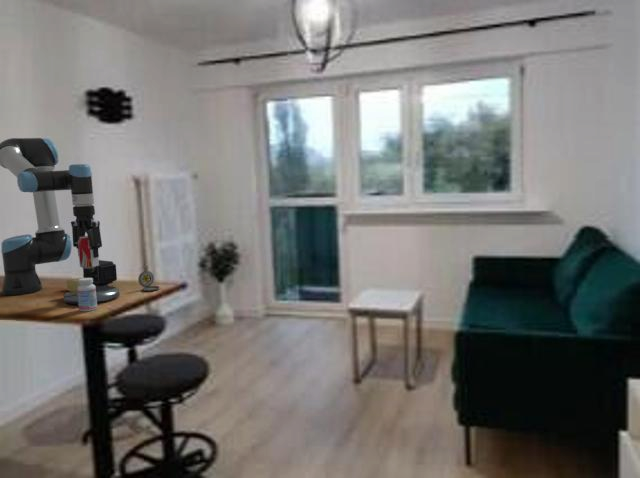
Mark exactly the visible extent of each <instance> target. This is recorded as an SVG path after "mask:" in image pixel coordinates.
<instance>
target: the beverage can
mask: <svg viewBox="0 0 640 478" xmlns="http://www.w3.org/2000/svg"><path fill="white" fill-rule="evenodd" d="M78 248H79V256H78V258H79V257H80V263H79V267H80V268H81V269H83V268H84V269H89V268H95V267H96V266H94V267H92V264H91V254H90V250H91V249H90V248H91V245H90V242H89V238H88V235H85V236H83V237H79V240H78Z"/></svg>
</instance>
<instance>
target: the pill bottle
mask: <svg viewBox="0 0 640 478" xmlns="http://www.w3.org/2000/svg"><path fill="white" fill-rule="evenodd" d="M78 280H79V284H80V286H78V288H77V292H78V303H79V304H78V310H79V312H83V313H85V312H92V311H95V310H98V302H97V298H96V287H95V285H93V284H92V283H93V278H84V277H82V278H79V279H78Z"/></svg>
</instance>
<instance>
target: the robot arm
mask: <svg viewBox="0 0 640 478" xmlns="http://www.w3.org/2000/svg"><path fill="white" fill-rule="evenodd" d="M58 162H59V154H58V149H57V147H56V144H55V143H54V142H53V140H52V139H49V138H42V137H27V138H26V137H25V138H23V137H21V138H18V137H17V138H16V137H13V138H7V139H5V140H3V141H1V142H0V166H1V167H2V168H4V169H7V170H8V171H10V173H12V174H13V176H15V177H16V180H17V186H18V189H19V191H21V192H23V193H32V196H33V201H34V210H35V215H36V221H37V228H38V229H37V230H36V231H35V232H34V235H35V237H34V236H33V235H32V234H22V235H15V236H11V237H9V238H6V239H3V240H2V242H1V243H0V244H1V250H0V251H1V255H2V265H3V272H4V273H3V274H4V277H3V280H2V283H1V284H2V285H1V294H2V295H4V296H18V295H19V296H20V295H25V294H32V293H36V292H40V291H41V290H42V289H43V284H42V281H41V280H40V278H39V277H40V276H39V275H38V273H37V271H36V265H43V264H49V263H58V262H62V261H65V260H67V259H69V258H70V256H71V253H72V246H73V248H76V249H77V253H78V254H77V255H78V260H79V261H78V263H79V264H80V257H79V248H78V240H79V237H83V236H88V238H89V242H90V245H91V248H90V249H91V250H90V254H91V264H92V267H94V266H99V260H100V259H99V257H100V255H99V249H100V248H102V247H103V243H102V236H101V227H100V225H101V223H100V221H99V220H97V221H96V220H95V218H94V216H95V214H96V209H95V206H94V205H93V204H95V199H94V189H93V180H92V171H91V166H90V164H86V163H84V164H82V163H79V164H69V166H68V170H67V169H66V170H64V169H63V170H55V169H56V168H55V166H56V165H57V164H59V163H58ZM69 190H70V192H71V193H70V194H71V201H72V205H73V207H72V211H73V212H72V213H73V216H74V217H76V218H75V220H74V221H70V224H71V230H72V231H71V233H72V238H71V236H70V234H69V233H66V232H65V228H63V227H62V226H61V225H60V218H59V212H58V205H57V199H56V193H55V191H57V192H58V191H69ZM86 234H87V235H86Z"/></svg>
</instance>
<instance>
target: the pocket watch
mask: <svg viewBox="0 0 640 478" xmlns="http://www.w3.org/2000/svg"><path fill="white" fill-rule="evenodd" d="M142 269H143V270H144V271H142V272H141V273H140V274H139V275H138V283H139V285H140V286H141V287H143V288H142V291H144V292H155V291H158V290H159V289H160V286H157V285H153V283H154V280H155V276H154V274H153V272H151V271H149V270H148V269H149V266H148V265H146V264H144V265H143V266H142Z"/></svg>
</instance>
